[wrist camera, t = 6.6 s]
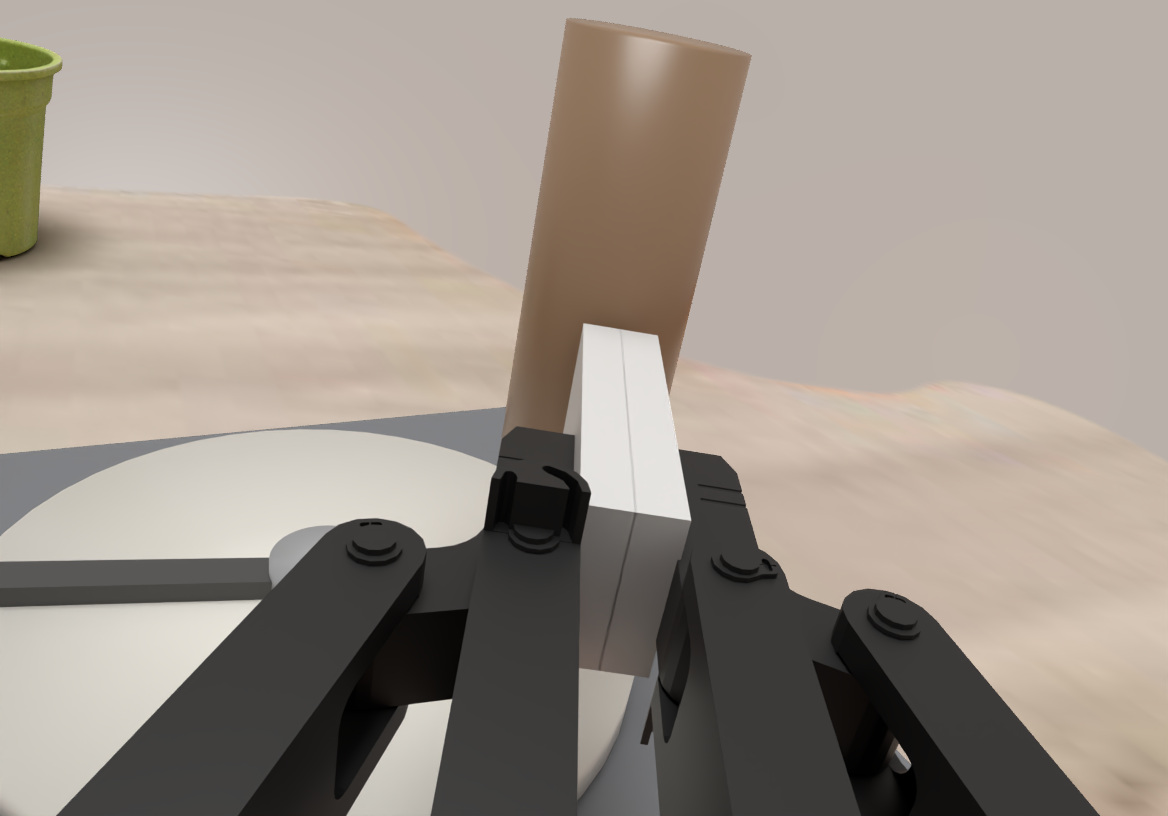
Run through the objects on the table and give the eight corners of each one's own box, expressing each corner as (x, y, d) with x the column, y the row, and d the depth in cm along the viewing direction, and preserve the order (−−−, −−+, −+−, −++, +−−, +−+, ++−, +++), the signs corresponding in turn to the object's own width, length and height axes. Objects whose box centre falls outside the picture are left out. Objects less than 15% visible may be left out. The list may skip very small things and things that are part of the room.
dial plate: (-321, 525, 23) (-337, 474, 22) (544, 430, 36) (550, 396, 35) (-881, 1767, 8) (-979, 1727, 7) (938, 846, 21) (961, 801, 20)
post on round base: (-272, 652, 18) (-528, -170, 12) (262, 403, 31) (272, -59, 25) (400, 1109, 13) (558, 111, 7) (707, 588, 26) (860, 69, 20)
